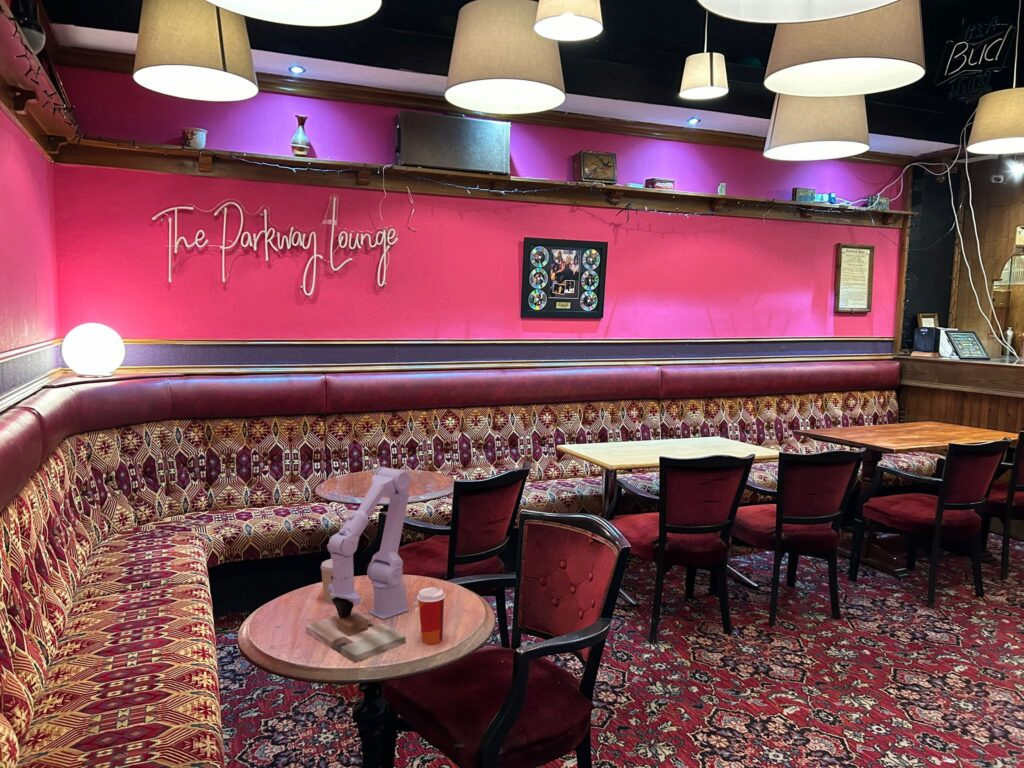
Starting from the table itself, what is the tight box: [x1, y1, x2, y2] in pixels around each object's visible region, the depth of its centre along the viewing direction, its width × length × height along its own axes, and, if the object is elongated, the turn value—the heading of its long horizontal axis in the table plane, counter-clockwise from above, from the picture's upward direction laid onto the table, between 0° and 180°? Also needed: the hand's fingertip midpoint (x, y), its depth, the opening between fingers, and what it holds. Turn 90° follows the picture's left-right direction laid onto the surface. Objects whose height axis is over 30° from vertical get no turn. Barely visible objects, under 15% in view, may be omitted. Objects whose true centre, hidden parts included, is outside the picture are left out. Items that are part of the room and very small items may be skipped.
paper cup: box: [417, 586, 446, 646], centre depth 200 cm, size 8×8×14 cm
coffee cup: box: [320, 558, 335, 605], centre depth 230 cm, size 9×9×12 cm
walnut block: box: [338, 613, 368, 636], centre depth 204 cm, size 6×6×3 cm
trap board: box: [305, 608, 407, 664], centre depth 203 cm, size 16×26×2 cm, turn 44°
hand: (344, 621), depth 207 cm, fingers closed
